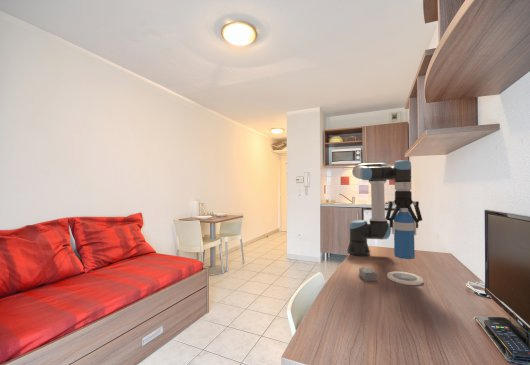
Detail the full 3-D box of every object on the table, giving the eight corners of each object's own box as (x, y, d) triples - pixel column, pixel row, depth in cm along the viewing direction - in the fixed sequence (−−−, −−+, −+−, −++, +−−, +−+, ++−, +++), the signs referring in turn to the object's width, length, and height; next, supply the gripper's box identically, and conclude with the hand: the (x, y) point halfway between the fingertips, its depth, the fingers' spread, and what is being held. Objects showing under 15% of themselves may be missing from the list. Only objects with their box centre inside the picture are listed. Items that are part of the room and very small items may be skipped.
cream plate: (383, 272, 133) (383, 270, 133) (415, 274, 129) (415, 272, 129) (392, 283, 117) (392, 281, 117) (429, 286, 114) (429, 284, 114)
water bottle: (419, 259, 118) (418, 208, 119) (400, 259, 119) (399, 208, 119) (408, 254, 128) (407, 207, 128) (390, 254, 128) (389, 207, 129)
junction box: (359, 275, 129) (359, 266, 129) (370, 275, 129) (370, 266, 129) (364, 280, 121) (364, 271, 121) (376, 280, 121) (376, 272, 121)
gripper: (382, 190, 123) (382, 234, 122) (430, 190, 118) (431, 236, 117) (378, 190, 130) (379, 232, 130) (423, 190, 125) (424, 233, 125)
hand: (403, 234), depth 124 cm, fingers closed on water bottle, 9 cm apart
